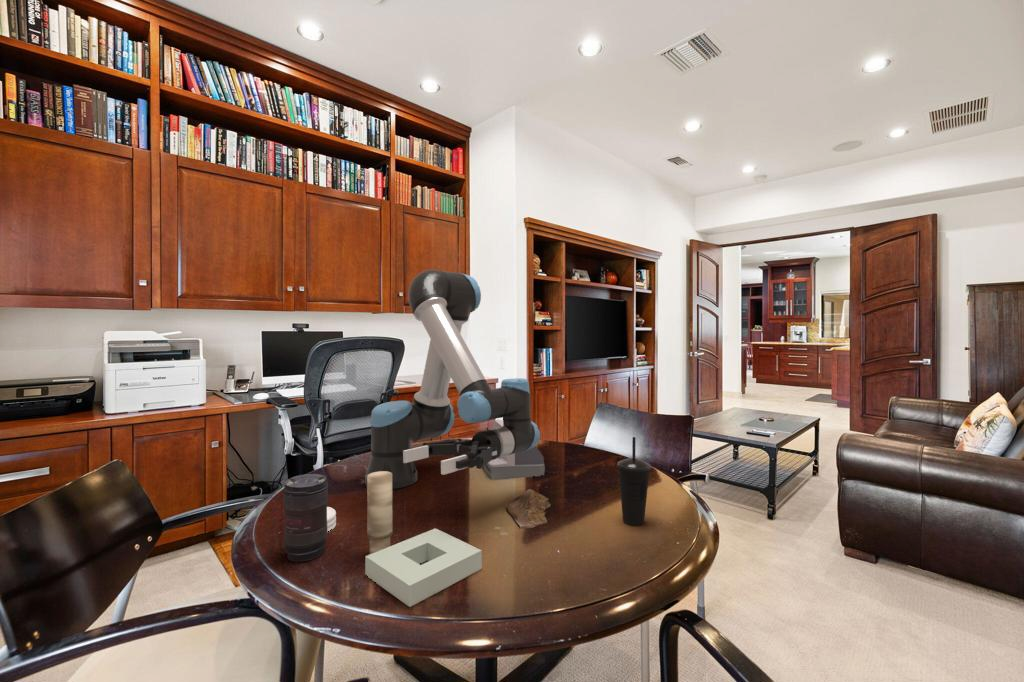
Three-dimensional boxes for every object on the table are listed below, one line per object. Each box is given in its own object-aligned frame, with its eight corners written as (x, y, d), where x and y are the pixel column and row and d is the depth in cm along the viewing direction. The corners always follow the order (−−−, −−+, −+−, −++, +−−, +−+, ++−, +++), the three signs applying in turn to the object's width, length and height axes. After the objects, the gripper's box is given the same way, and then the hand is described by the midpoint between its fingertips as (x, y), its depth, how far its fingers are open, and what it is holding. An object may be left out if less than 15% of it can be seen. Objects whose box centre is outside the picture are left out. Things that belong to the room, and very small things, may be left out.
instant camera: (479, 461, 155) (479, 418, 155) (537, 459, 158) (537, 417, 157) (481, 481, 134) (481, 431, 134) (548, 478, 136) (549, 430, 136)
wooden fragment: (546, 531, 100) (546, 526, 100) (498, 528, 102) (498, 523, 102) (553, 492, 125) (553, 488, 125) (514, 490, 127) (514, 486, 127)
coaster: (288, 543, 94) (288, 526, 94) (287, 525, 103) (287, 510, 103) (338, 533, 99) (338, 517, 99) (333, 516, 108) (333, 502, 108)
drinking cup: (650, 517, 107) (651, 435, 107) (649, 530, 100) (650, 442, 100) (618, 513, 110) (619, 432, 109) (615, 525, 102) (615, 439, 102)
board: (365, 575, 81) (365, 556, 81) (435, 544, 93) (435, 528, 93) (409, 607, 72) (409, 585, 72) (481, 568, 84) (481, 550, 84)
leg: (362, 554, 89) (362, 475, 89) (384, 546, 92) (384, 469, 92) (375, 563, 86) (375, 480, 85) (397, 553, 89) (397, 474, 89)
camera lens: (282, 567, 84) (281, 488, 84) (285, 548, 91) (284, 476, 91) (328, 559, 87) (328, 483, 87) (327, 541, 94) (327, 471, 94)
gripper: (530, 468, 103) (460, 492, 87) (459, 451, 120) (390, 468, 104) (529, 435, 103) (459, 454, 87) (459, 423, 120) (390, 436, 104)
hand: (421, 462), depth 95 cm, fingers open, 13 cm apart
